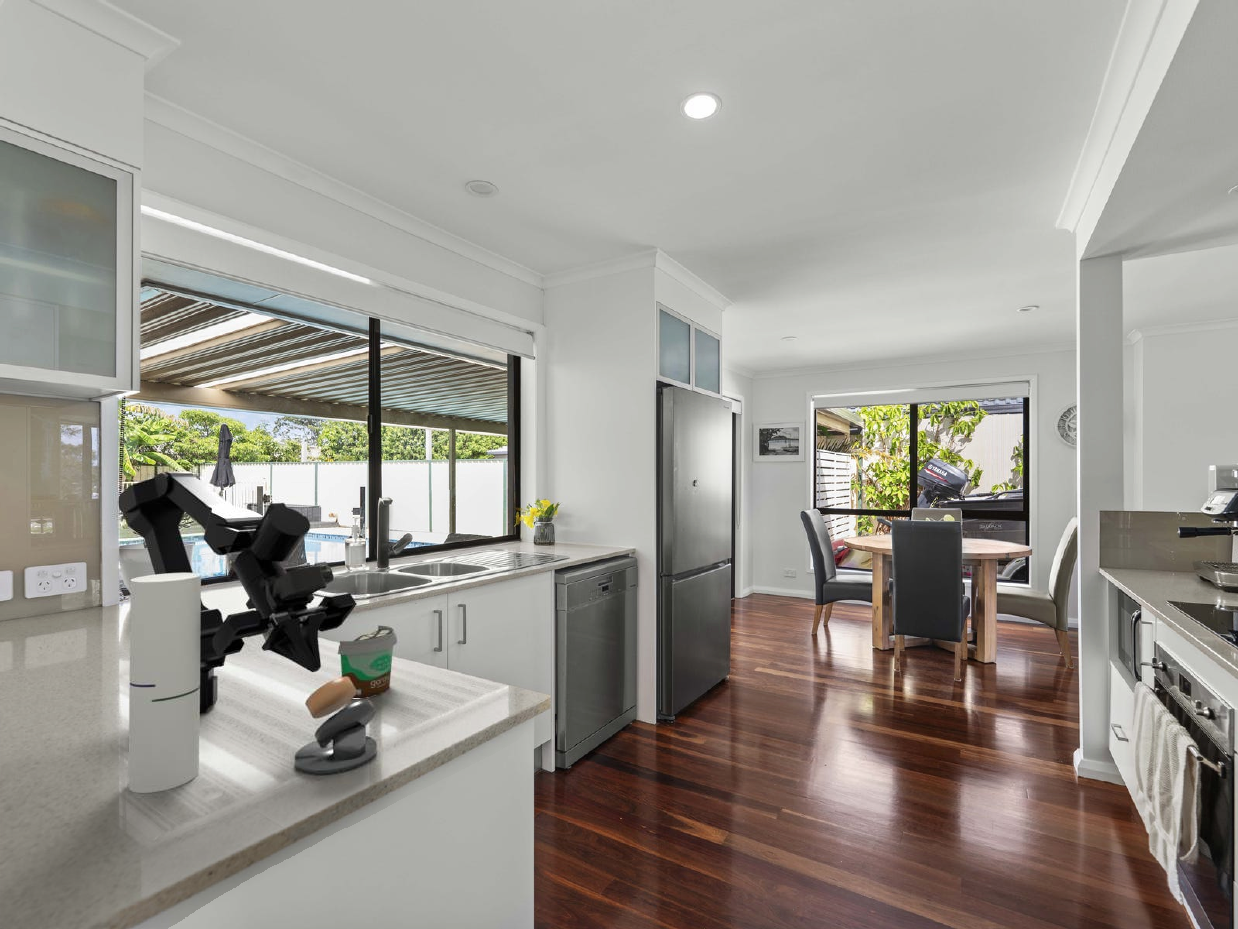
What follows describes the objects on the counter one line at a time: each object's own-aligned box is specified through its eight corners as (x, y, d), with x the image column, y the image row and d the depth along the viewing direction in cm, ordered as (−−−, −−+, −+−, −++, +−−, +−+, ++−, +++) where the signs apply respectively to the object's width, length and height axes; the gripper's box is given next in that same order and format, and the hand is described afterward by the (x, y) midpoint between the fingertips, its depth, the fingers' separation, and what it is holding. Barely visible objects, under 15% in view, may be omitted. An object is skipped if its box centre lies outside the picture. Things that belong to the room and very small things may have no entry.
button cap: (297, 722, 84) (297, 679, 84) (336, 707, 90) (336, 667, 90) (325, 730, 82) (325, 686, 82) (364, 714, 87) (364, 673, 87)
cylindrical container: (152, 766, 82) (154, 573, 83) (210, 764, 83) (212, 572, 83) (113, 794, 75) (116, 582, 75) (177, 792, 76) (179, 581, 76)
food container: (370, 705, 104) (371, 644, 104) (337, 702, 105) (337, 642, 105) (410, 681, 116) (410, 626, 116) (379, 678, 117) (380, 624, 117)
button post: (277, 764, 83) (278, 702, 83) (343, 736, 92) (343, 680, 92) (329, 782, 78) (329, 716, 78) (393, 750, 87) (393, 691, 87)
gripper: (225, 553, 82) (278, 650, 76) (348, 539, 98) (399, 618, 93) (190, 608, 85) (239, 705, 80) (314, 586, 102) (362, 665, 96)
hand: (317, 669), depth 87 cm, fingers closed
